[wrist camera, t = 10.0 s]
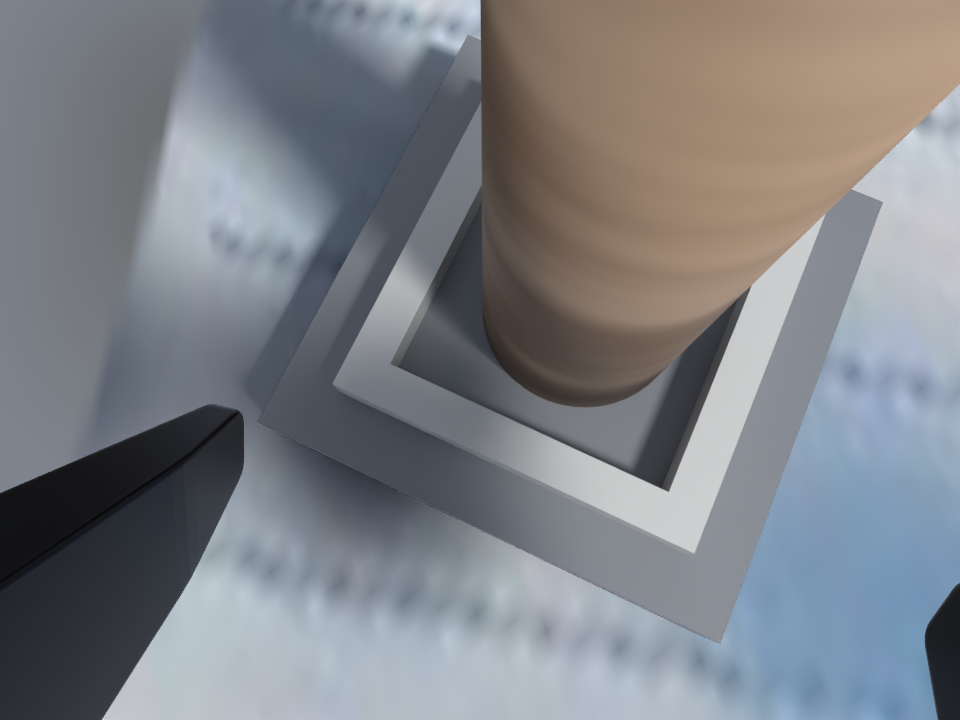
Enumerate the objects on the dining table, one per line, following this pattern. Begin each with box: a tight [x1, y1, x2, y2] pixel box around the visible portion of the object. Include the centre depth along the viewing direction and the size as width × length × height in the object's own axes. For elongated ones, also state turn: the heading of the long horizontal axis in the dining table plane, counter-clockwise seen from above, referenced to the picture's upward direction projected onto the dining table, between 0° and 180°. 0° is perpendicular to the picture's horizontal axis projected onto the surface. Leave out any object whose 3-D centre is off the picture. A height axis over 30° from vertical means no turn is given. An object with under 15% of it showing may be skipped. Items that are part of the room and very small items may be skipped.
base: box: [257, 35, 883, 644], centre depth 19 cm, size 12×12×3 cm
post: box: [481, 0, 960, 408], centre depth 12 cm, size 5×5×14 cm
